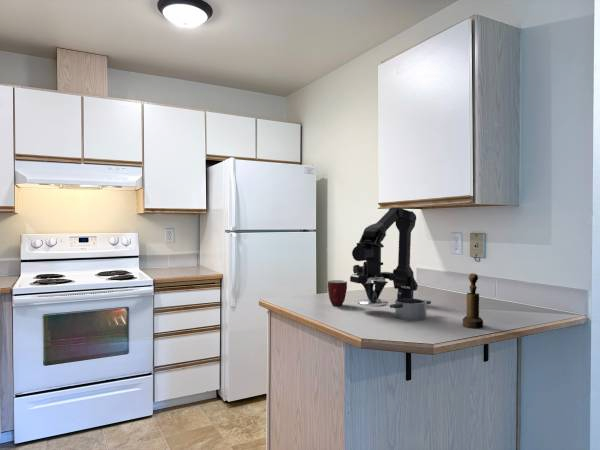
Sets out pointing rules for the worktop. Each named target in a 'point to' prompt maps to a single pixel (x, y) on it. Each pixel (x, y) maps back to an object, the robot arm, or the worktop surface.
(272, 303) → the worktop surface
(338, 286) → the mug
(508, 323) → the worktop surface
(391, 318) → the worktop surface
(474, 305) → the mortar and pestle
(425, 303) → the pot
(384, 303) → the lid
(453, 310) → the worktop surface
